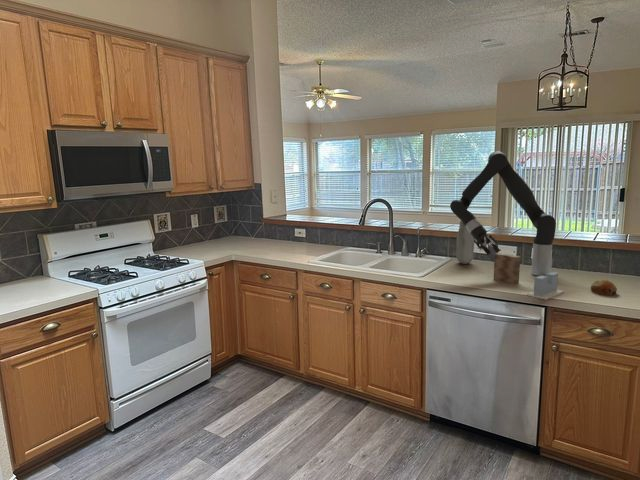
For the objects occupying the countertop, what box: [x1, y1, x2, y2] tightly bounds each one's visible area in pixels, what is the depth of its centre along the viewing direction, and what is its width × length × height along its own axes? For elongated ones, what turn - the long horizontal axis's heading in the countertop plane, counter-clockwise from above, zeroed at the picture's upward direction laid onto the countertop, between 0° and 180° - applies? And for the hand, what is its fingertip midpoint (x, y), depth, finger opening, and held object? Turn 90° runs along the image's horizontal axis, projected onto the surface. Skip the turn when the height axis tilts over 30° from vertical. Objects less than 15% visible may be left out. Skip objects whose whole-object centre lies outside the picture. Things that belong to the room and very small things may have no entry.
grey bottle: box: [455, 220, 475, 265], centre depth 260 cm, size 10×10×28 cm
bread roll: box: [590, 279, 618, 297], centre depth 200 cm, size 10×10×8 cm
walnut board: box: [493, 252, 521, 285], centre depth 221 cm, size 12×4×14 cm, turn 36°
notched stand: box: [526, 271, 565, 301], centre depth 200 cm, size 17×9×9 cm, turn 126°
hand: (494, 252), depth 226 cm, fingers open, 8 cm apart
